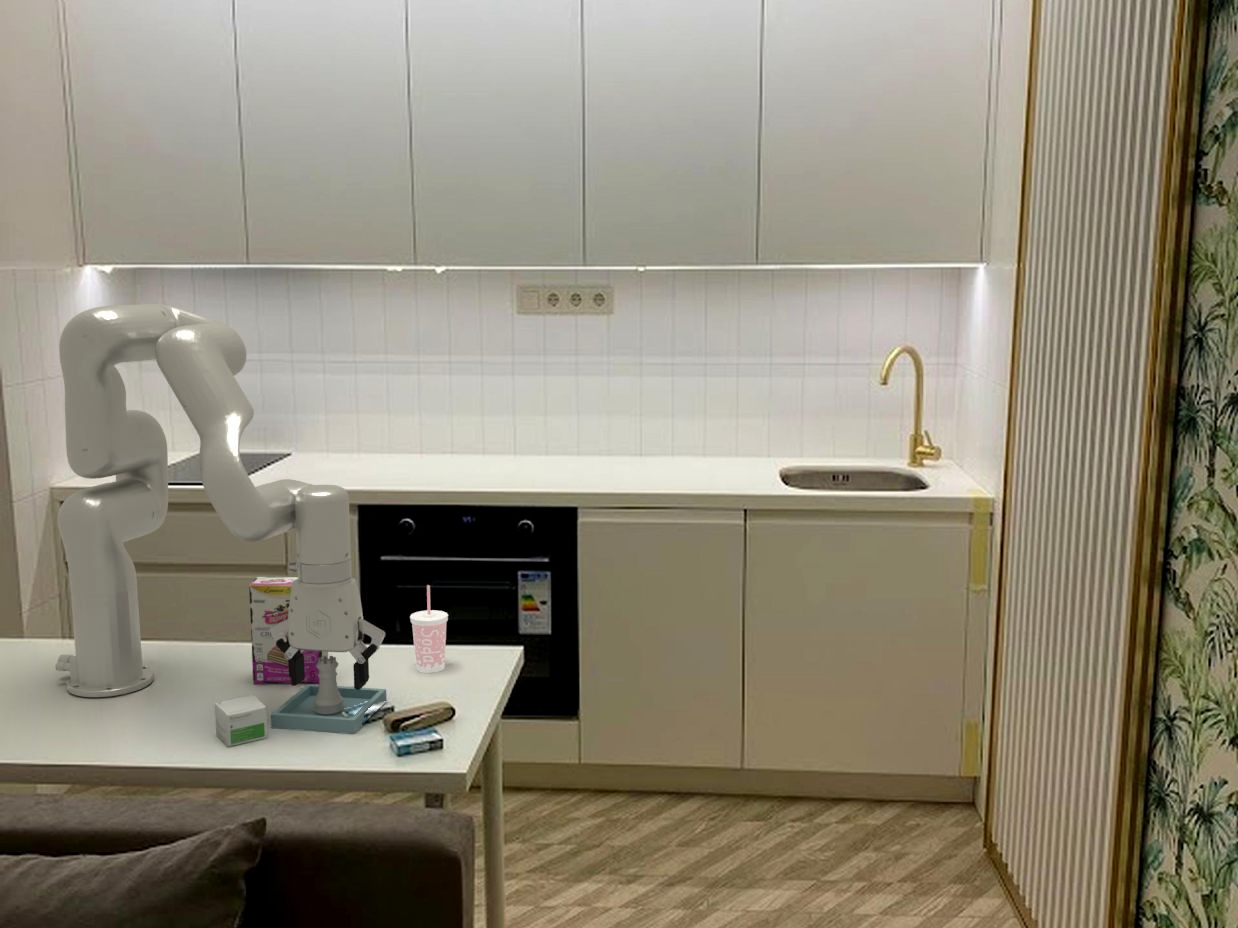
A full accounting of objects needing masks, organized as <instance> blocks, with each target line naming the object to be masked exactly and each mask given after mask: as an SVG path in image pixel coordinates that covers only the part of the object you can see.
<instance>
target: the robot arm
mask: <svg viewBox="0 0 1238 928" xmlns="http://www.w3.org/2000/svg"><path fill="white" fill-rule="evenodd" d="M64 326H65V327H64V328H63V330H62V332H61V335H60V338H59V339H60V340H59V344H58V345H59V349H58V350H59V362H60V367H61V374H62V379H63V385H64V416H65V417H64V418H65V419H64V420H65V422H64V423H65V449H66V458H67V461H68V465H69V467H70V469H71V471H72V472H73V473H74V474H76V475H77V476H79V477H81V478H83V479H90V480H91V479H92V480H93V479H94V480H95V479H96V480H97V479H103V478H109V477H113V476H115V481H112V482H105V483H101V484H97V485H94V486H90V487H86V488H82V489H80V490H77V491H76V492H74V493H72V494H70V495H69V496H68V497H67V498H66V499H65V500H64V501H63V502H62V504H61V505H60V508H59V510H58V514H57V526H58V531H59V534H60V537H61V540H62V545H63V549H64V552H65V557H66V561H67V568H68V569H67V570H68V576H69V578H68V579H69V588H70V589H69V590H70V599H71V601H70V602H71V611H72V624H73V625H72V628H73V636H74V637H73V638H74V640H73V641H74V652H75V655H73V654H59V656H58V658H57V663H56V664H55V670H56V671H58V672H69V673H70V677H69V679H68V680H66V689H67V690H66V691H68V692H69V693H70V694H72V695H74V696H78V697H83V698H108V697H116V696H121V695H126V694H130V693H133V692H135V691H138V690H141V689H143V688H146V687H147V686H149V685H150V684H152V682H154V680H155V679H154V678H155V673H154V670H153V669H152V668H151V667H148V666H146V665H143V653H142V652H143V651H142V642H141V641H142V639H141V626H140V625H141V623H140V610H139V609H140V608H139V607H140V606H139V598H138V594H139V593H138V579H137V572H136V567H135V564H134V562H133V560H132V558H131V555H130V554H129V553H128V551H127V550H126V548H125V545H124V543H126V542H128V541H130V540H131V541H132V540H134V539H138V538H141V537H144V536H147V535H149V534H151V533H153V532H155V531H157V530H158V529H160V527H161V526H162V525H163V523H164V522H165V520H166V517H167V514H168V508H169V469H168V468H169V466H168V465H169V463H168V460H169V459H168V454H169V453H168V442H167V438H166V434H165V432H164V429H163V427H162V425H161V424H160V422H159V421H158V420H157V419H156V418H155V417H154V416H153V415H151V414H150V413H148V412H146V411H142V410H137V409H136V410H135V409H129V410H127V391H126V390H127V389H126V386H125V385H126V384H125V383H124V380H123V378H122V376H121V373H120V372H119V369H117V367H116V365H118V364H121V363H130V362H142V361H152V360H155V361H156V364H157V366H158V368H159V370H160V372H161V373H162V375H163V377H164V378H165V380H166V381H167V383H168V386H169V387H170V389H171V390H172V392H173V394H174V395H175V397H176V399H177V401H178V402H179V404H180V406H181V407H182V409H183V410H184V412H185V414H186V415H187V418H188V419H189V421H190V422H191V424H192V426H193V427H194V429H195V431H196V433H197V434H198V436H199V441H200V444H199V445H200V446H199V454H198V455H199V456H198V457H199V458H198V459H199V468H200V477H201V482H202V486H203V489H204V492H205V494H206V496H207V498H208V500H209V501H210V503H211V505H212V507H213V509H214V510H215V512H216V513H217V515H218V516H219V518H220V519H221V522H222V523H223V524H224V525H225V527H226V528H227V529H228V530H229V532H231V534H232V535H234V536H235V537H236V538H238V539H239V540H241V541H244V542H248V543H257V542H261V541H265V540H267V539H271V538H273V537H275V536H278V535H282V534H285V533H289V532H291V531H295V533H296V534H295V535H296V536H295V539H296V560H295V561H290V562H289V564H288V570H289V572H290V571H291V572H295V573H296V577H297V578H298V579H296V580H294V581H293V583H292V588H291V594H290V602H289V615H288V619H286V620H284V621H282V622H280V623H278V624H276V625H274V626H272V627H271V628H270V633H271V634H272V636H273V638H274V640H275V641H276V645H277V647H278V648H279V649H280V650H281V651H282V652H283V653H284V654H285V658H286V659H288V664H289V677H290V678H291V686H292V687H293V686H294V687H295V686H298V685H299V684H301V683H300V682H301V681H303V680H304V679H305V669H304V655H303V653H301V652H300V651H301V650H308V651H325V652H328V653H347V652H349V653H350V655H351V656H352V658H354V659H355V661H356V662H354V663H353V667H352V668H353V687H354V688H355V689H356V690H360V689H361V688H364V686H366V684H367V683H368V682H369V679H370V669H369V668H370V666H369V659H370V657H372V656H373V655H374V654H375V653H376V652H377V651H378V650H379V649H380V646H381V645H382V643H383V641H384V638H385V637H386V632H385V630H382V629H380V628H379V627H377V626H376V625H374V624H372V623H370V622H369V621H367V620H365V619H364V616H363V615H364V614H363V607H362V601H361V593H360V591H359V586H358V583H357V580H356V578H354V577H352V553H351V549H352V548H351V523H350V522H351V520H350V519H351V517H350V499H349V493H348V491H347V490H346V488H344V487H342V486H340V485H334V484H312V483H307V482H304V481H301V480H297V479H291V478H290V479H287V478H286V479H278V480H276V481H272V482H268V483H264V484H261V485H258V486H257V485H256V486H255V485H254V482H252V479H251V477H250V476H249V474H248V472H247V471H246V468H245V467H244V465H243V462H242V458H241V453H240V443H241V438H242V435H243V433H244V431H245V429H246V428H247V427H248V426H249V425H250V423H251V422H252V420H253V418H254V415H255V413H254V412H255V409H254V408H253V406H252V404H251V402H250V401H249V400H248V398H247V396H246V394H245V392H244V391H243V388H241V386H240V384H239V383H238V381H237V379H236V378H235V376H237V375H238V373H240V372H241V371H242V370H243V368H245V367H244V366H245V365H246V361H247V349H246V345H245V342H244V340H243V338H242V337H241V336H240V334H239V333H238V331H236V330H235V329H234V328H232V327H231V326H229V325H227V324H225V323H223V322H220V321H219V320H218V321H217V320H215V319H211V318H209V317H205V316H203V315H200V314H197V313H193V312H190V311H188V310H185V309H182V308H179V307H176V306H173V305H168V304H163V303H139V304H112V305H102V306H97V307H94V308H89V309H86V310H83V311H81V312H80V313H77V314H76V315H75V316H73V317H72V318H71V319H70V320H69V321H68V322H67V324H66V325H64ZM285 629H288V638H287V637H285V634H284V630H285ZM365 635H367V636H368V637H370V638H371V641H370V644H369V646H367V645H366V644H365V643H364V642H363V641H364V639H365V637H364V636H365Z"/></svg>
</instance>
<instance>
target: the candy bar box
mask: <svg viewBox="0 0 1238 928" xmlns="http://www.w3.org/2000/svg"><path fill="white" fill-rule="evenodd" d="M296 579H298V578H297V576H296V577H295V576H286V577H285V576H257V577H256V578H255V579H254V580H253V581H251V582H250V584H249V585H248V588H249V589H248V590H249V591H248V592H249V609H250V610H249V613H250V614H249V615H250V631H251V632H250V633H251V634H250V635H251V662H252V681H253V684H256V685H257V684H263V685H264V684H265V685H266V684H268V685H269V684H272V685H273V684H281V685H282V684H286V685H287V684H291V678H290V677H289V664H288V659H286V658H285V654H284V653H283V652H282V651H281V650H280V649H279V648H278V647H277V645H276V641H275V640H274V638H273V636H272V634H271V633H270V628H271V627H272V626H274V625H276V624H278V623H280V622H282V621H284V620H286V619H288V615H289V602H290V594H291V588H292V583H293V581H294V580H296ZM284 634H285V637H287V638H288V629H285V630H284ZM300 652H301V653H303V655H304V669H305V679H304V680H303V681H301V682H300V683H299V684H319V677H318V674H319V669H318V668H317V667H316V664H317V663H318V659H319V658H320V657H322V659H323V656H327V659H329V652H325V651H308V650H301V651H300ZM291 685H292V684H291Z"/></svg>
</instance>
